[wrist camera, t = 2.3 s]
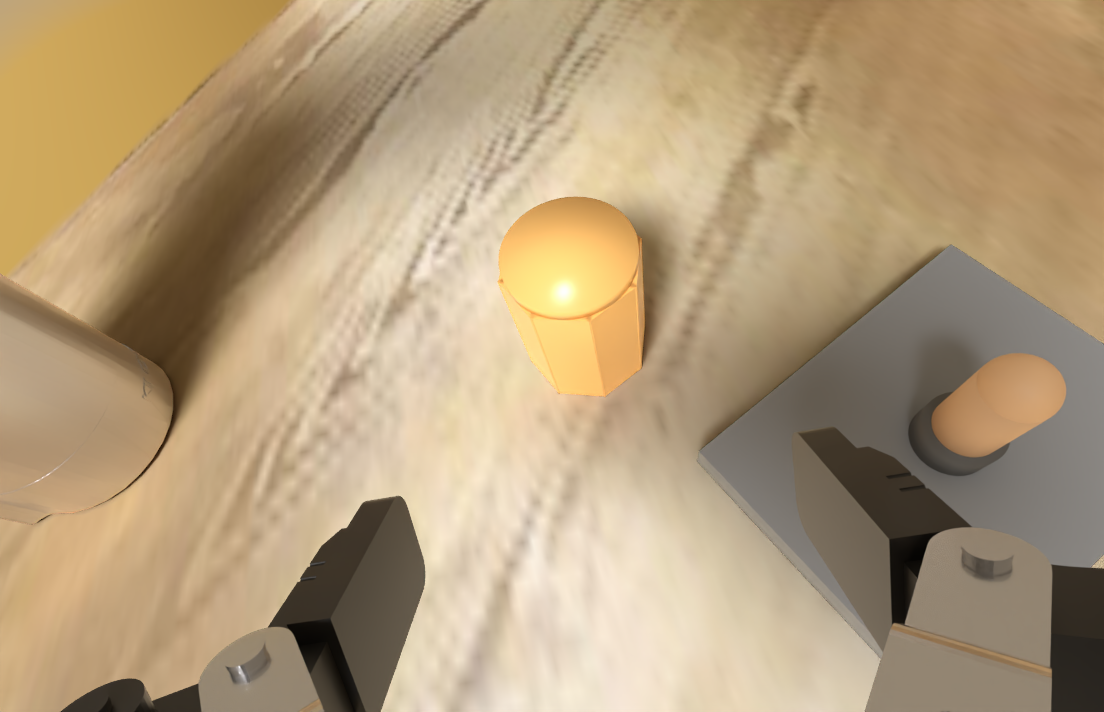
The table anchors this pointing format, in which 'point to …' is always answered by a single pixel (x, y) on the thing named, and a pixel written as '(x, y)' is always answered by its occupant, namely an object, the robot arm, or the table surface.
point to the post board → (911, 378)
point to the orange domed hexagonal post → (576, 293)
